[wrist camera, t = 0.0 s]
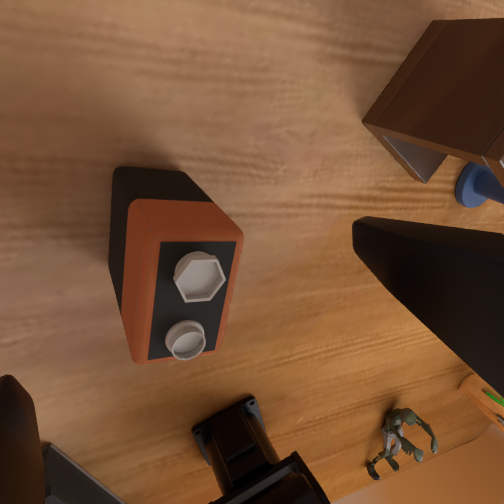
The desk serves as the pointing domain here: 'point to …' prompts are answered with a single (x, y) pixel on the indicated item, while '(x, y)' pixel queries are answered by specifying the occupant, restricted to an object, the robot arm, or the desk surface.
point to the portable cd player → (71, 481)
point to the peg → (478, 186)
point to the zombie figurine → (400, 439)
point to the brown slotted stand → (446, 99)
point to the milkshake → (484, 399)
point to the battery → (170, 264)
